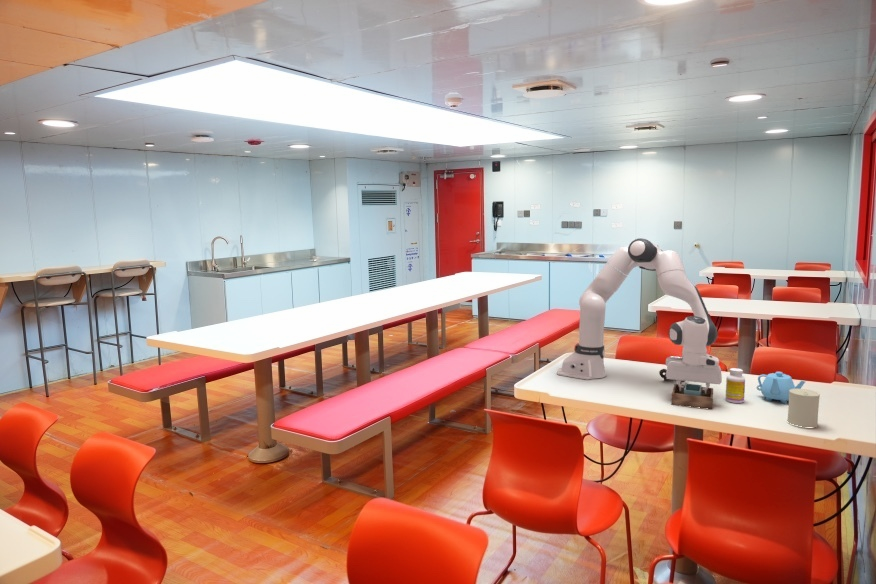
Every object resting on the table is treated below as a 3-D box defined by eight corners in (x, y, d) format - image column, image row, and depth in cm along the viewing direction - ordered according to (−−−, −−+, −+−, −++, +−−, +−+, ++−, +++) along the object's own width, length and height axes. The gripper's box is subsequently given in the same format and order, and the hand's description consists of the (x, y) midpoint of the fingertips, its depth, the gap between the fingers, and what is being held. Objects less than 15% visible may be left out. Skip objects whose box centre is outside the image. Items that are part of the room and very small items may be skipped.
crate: (671, 404, 225) (671, 393, 225) (674, 394, 238) (674, 384, 237) (711, 409, 219) (712, 398, 218) (712, 399, 231) (713, 388, 231)
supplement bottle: (745, 404, 224) (746, 372, 223) (726, 402, 227) (728, 370, 225) (742, 399, 231) (744, 368, 229) (724, 397, 233) (725, 366, 231)
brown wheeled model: (677, 379, 263) (686, 366, 258) (684, 393, 255) (693, 380, 251) (653, 373, 262) (661, 360, 257) (659, 387, 254) (667, 374, 249)
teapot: (807, 405, 222) (809, 377, 221) (772, 406, 222) (774, 377, 221) (783, 393, 238) (785, 367, 236) (750, 394, 237) (752, 367, 236)
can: (789, 426, 200) (792, 393, 198) (784, 418, 208) (786, 386, 207) (820, 429, 197) (823, 395, 195) (814, 421, 205) (816, 388, 204)
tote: (700, 404, 223) (700, 391, 222) (683, 402, 225) (683, 389, 225) (701, 397, 231) (701, 385, 231) (684, 395, 234) (685, 383, 233)
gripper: (665, 357, 228) (663, 391, 230) (722, 362, 219) (720, 397, 221) (666, 353, 234) (665, 387, 235) (722, 358, 225) (721, 393, 226)
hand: (692, 392), depth 228 cm, fingers open, 7 cm apart
